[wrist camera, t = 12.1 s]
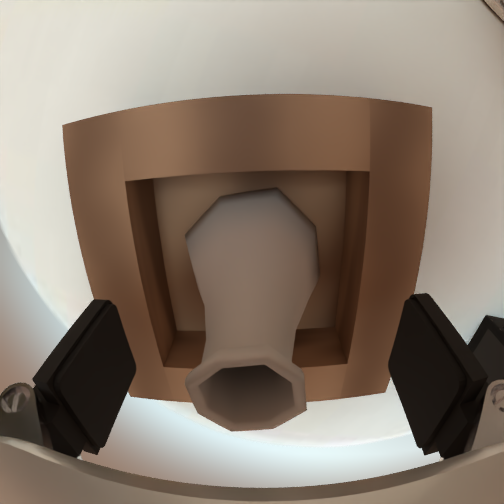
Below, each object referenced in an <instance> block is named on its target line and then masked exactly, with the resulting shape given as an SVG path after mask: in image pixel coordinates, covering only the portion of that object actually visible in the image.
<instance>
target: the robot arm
mask: <svg viewBox="0 0 504 504" xmlns="http://www.w3.org/2000/svg"><path fill="white" fill-rule="evenodd" d="M484 1H485V2H486V3H487V4H488V5H489V6H490V8H491V9H492V10H493V11H494V12H495V13H496V14H497V15H498V16H499V17H500V18H501V19H502V20H503V21H504V0H484ZM388 370H389V373H390V375H391V378H392V380H393V383H394V385H395V388H396V390H397V393H398V395H399V398H400V400H401V403H402V406H403V408H404V411H405V414H406V417H407V419H408V422H409V425H410V428H411V430H412V433H413V436H414V439H415V442H416V444H417V446H418V447H419V448H422V450H423V453H424V455H428V454H431V453H435V452H438V451H439V453H440V456H441V458H440V460H439V462H436V463H433V464H429V465H425V466H422V467H418V468H414V469H410V470H406V471H402V472H398V473H393V474H389V475H385V476H380V477H374V478H369V479H363V480H357V481H351V482H344V483H336V484H328V485H318V486H305V487H288V488H238V487H221V486H208V485H198V484H189V483H182V482H175V481H168V480H162V479H156V478H151V477H146V476H140V475H136V474H131V473H127V472H123V471H119V470H115V469H111V468H108V467H104V466H100V465H96V464H94V463H90V462H87V461H83V460H82V458H81V455H80V454H81V452H82V450H84V451H86V452H89V453H92V454H96V455H98V452H99V450H100V448H103V447H104V446H105V444H106V442H107V439H108V437H109V434H110V432H111V429H112V427H113V424H114V422H115V420H116V417H117V415H118V413H119V410H120V408H121V406H122V403H123V401H124V399H125V396H126V394H127V392H128V390H129V387H130V385H131V383H132V380H133V378H134V376H135V374H136V363H135V360H134V357H133V354H132V352H131V349H130V346H129V343H128V340H127V337H126V334H125V331H124V328H123V325H122V322H121V319H120V315H119V312H118V309H117V306H116V305H114V304H113V303H112V302H111V301H110V300H102V299H94V300H93V301H92V302H91V303H90V304H89V306H88V307H87V308H86V309H85V310H84V312H83V313H82V314H81V315H80V317H79V318H78V319H77V320H76V322H75V323H74V324H73V325H72V327H71V328H70V329H69V330H68V332H67V333H66V334H65V336H64V337H63V338H62V339H61V341H60V342H59V344H58V345H57V346H56V347H55V349H54V350H53V351H52V353H51V354H50V355H49V357H48V358H47V359H46V361H45V362H44V364H43V365H42V366H41V368H40V369H39V370H38V372H37V373H36V375H35V376H34V377H33V381H34V383H35V384H36V385H35V387H34V388H32V387H31V386H30V385H29V384H27V383H21V382H20V383H15V384H12V385H10V386H8V387H7V388H6V389H5V390H4V391H3V392H2V393H1V395H0V504H504V380H496V381H494V382H492V383H491V384H490V385H489V384H488V382H487V381H486V380H487V379H488V375H487V373H486V372H485V370H484V369H483V367H482V366H481V364H480V363H479V361H478V360H477V358H476V357H475V356H474V354H473V353H472V351H471V350H470V348H469V347H468V345H467V344H466V343H465V341H464V340H463V338H462V337H461V336H460V334H459V333H458V332H457V330H456V329H455V328H454V326H453V325H452V323H451V322H450V321H449V320H448V318H447V317H446V316H445V314H444V313H443V312H442V310H441V309H440V308H439V307H438V305H437V304H436V303H435V301H434V300H433V299H432V298H431V296H430V295H429V294H427V293H423V294H412V295H411V296H410V297H409V299H407V300H405V302H404V306H403V310H402V314H401V318H400V322H399V326H398V330H397V333H396V337H395V340H394V344H393V347H392V351H391V354H390V357H389V361H388Z"/></svg>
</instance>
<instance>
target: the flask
mask: <svg viewBox="0 0 504 504" xmlns="http://www.w3.org/2000/svg"><path fill="white" fill-rule="evenodd" d="M185 239H186V243H187V247H188V251H189V255H190V259H191V263H192V267H193V271H194V275H195V278H196V282H197V286H198V289H199V292H200V295H201V298H202V300H203V303H204V306H205V326H206V343H205V348H204V353H203V358H202V362H201V364H200V365H199V366H197V367H196V368H195V369H193V370H192V371H191V372H189V374H188V375H187V377H186V378H185V387H186V389H187V391H188V393H189V395H190V398H191V400H192V402H193V404H194V406H195V408H196V410H197V412H198V414H200V415H202V416H204V417H205V418H207V419H209V420H211V421H213V422H215V423H216V424H218V425H220V426H222V427H224V428H226V429H228V430H230V431H249V430H263V429H274V428H275V427H277V426H279V425H281V424H283V423H285V422H287V421H288V420H290V419H292V418H294V417H296V416H297V415H299V414H301V413H303V412H304V411H306V410H307V407H306V393H305V380H304V373H303V372H302V370H301V368H299V367H298V366H296V365H295V364H294V363H292V355H293V348H294V340H295V333H296V329H297V326H298V324H299V322H300V319H301V317H302V314H303V312H304V310H305V307H306V305H307V302H308V300H309V298H310V296H311V294H312V292H313V290H314V288H315V286H316V284H317V282H318V279H319V277H320V267H319V255H318V243H317V232H316V226H315V225H314V224H313V223H312V222H311V221H310V220H309V218H308V217H307V216H306V215H305V214H304V213H303V212H302V211H301V210H300V209H299V208H298V207H297V206H296V205H295V204H294V203H293V202H292V201H291V200H290V199H289V198H288V197H287V196H286V195H284V194H283V193H282V192H281V191H280V190H279V189H278V188H277V187H276V188H269V189H262V190H255V191H249V192H243V193H236V194H230V195H224V196H220V197H219V198H218V199H217V200H216V201H215V202H214V203H213V204H212V206H211V207H210V208H209V209H208V210H207V211H206V212H205V213H204V214H203V215H202V216H201V217H200V218H199V220H198V221H197V222H196V223H195V224H194V225H193V226H192V227H191V228H190V229H189V231H188V232H187V233H186V234H185Z"/></svg>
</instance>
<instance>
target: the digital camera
mask: <svg viewBox="0 0 504 504" xmlns="http://www.w3.org/2000/svg"><path fill="white" fill-rule="evenodd" d="M503 326H504V319H503V318H498V317H493V316H488V315H487V316H485V318H484V320H483V321H482V323H481V325H480V327H479V328H478V330H477V332H476V333H475V335H474V337H473V338H472V340H471V341H470V343H469V345H468V347H469V348H470V350H471V351H472V353H473V354H474V356H475V357H476V358H477V360H478V361H479V363H480V364H481V366H482V367H483V369H484V370H485V372H486V373H487V375H488V379H487V380H486V381H487V382H488V384H489V385H490V384H491V383H492V382H494V381H496V380H504V327H503Z"/></svg>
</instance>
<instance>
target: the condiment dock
mask: <svg viewBox="0 0 504 504" xmlns="http://www.w3.org/2000/svg"><path fill="white" fill-rule="evenodd" d="M62 127H63V141H64V152H65V161H66V170H67V177H68V184H69V191H70V198H71V204H72V209H73V215H74V220H75V225H76V230H77V235H78V239H79V244H80V248H81V253H82V257H83V261H84V265H85V269H86V273H87V276H88V280H89V284H90V287H91V291H92V294H93V297H94V299H102V300H110V301H111V302H112V303H113V304H114V305H116V306H117V309H118V312H119V315H120V319H121V322H122V325H123V328H124V331H125V334H126V337H127V340H128V343H129V346H130V349H131V352H132V354H133V357H134V360H135V363H136V374H135V376H134V378H133V380H132V383H131V385H130V387H129V390H128V392H129V394H130V396H131V397H139V398H147V399H156V400H166V401H177V402H192V400H191V398H190V395H189V393H188V391H187V389H186V387H185V378H186V377H187V375H188V374H189V372H191V371H192V370H193V369H195V368H196V367H197V366H199V365H200V364H201V362H202V358H203V353H204V348H205V343H206V326H205V306H204V303H203V300H202V298H201V295H200V292H199V289H198V286H197V282H196V278H195V275H194V271H193V267H192V263H191V259H190V255H189V251H188V247H187V243H186V239H185V234H186V233H187V232H188V231H189V229H190V228H191V227H192V226H193V225H194V224H195V223H196V222H197V221H198V220H199V218H200V217H201V216H202V215H203V214H204V213H205V212H206V211H207V210H208V209H209V208H210V207H211V206H212V204H213V203H214V202H215V201H216V200H217V199H218V198H219V197H220V196H224V195H230V194H236V193H243V192H249V191H255V190H262V189H269V188H276V187H277V188H278V189H279V190H280V191H281V192H282V193H283V194H284V195H286V196H287V197H288V198H289V199H290V200H291V201H292V202H293V203H294V204H295V205H296V206H297V207H298V208H299V209H300V210H301V211H302V212H303V213H304V214H305V215H306V216H307V217H308V218H309V220H310V221H311V222H312V223H313V224H314V225H315V226H316V232H317V243H318V255H319V267H320V277H319V279H318V282H317V284H316V286H315V288H314V290H313V292H312V294H311V296H310V298H309V300H308V302H307V305H306V307H305V310H304V312H303V314H302V317H301V319H300V322H299V324H298V326H297V329H296V333H295V340H294V348H293V355H292V363H294V364H295V365H296V366H298V367H299V368H301V370H302V372H303V373H304V380H305V393H306V402H311V401H323V400H333V399H342V398H351V397H358V396H365V395H372V394H378V393H384V392H386V389H387V386H388V383H389V380H390V377H391V375H390V373H389V370H388V361H389V357H390V354H391V351H392V347H393V344H394V340H395V337H396V333H397V330H398V326H399V322H400V318H401V314H402V310H403V306H404V302H405V300H407V299H409V297H410V296H411V295H412V294H414V291H415V286H416V281H417V276H418V271H419V266H420V260H421V254H422V248H423V242H424V235H425V228H426V220H427V212H428V202H429V191H430V178H431V160H432V107H427V106H421V105H415V104H409V103H403V102H396V101H388V100H380V99H371V98H361V97H349V96H334V95H311V94H262V95H239V96H223V97H211V98H201V99H192V100H183V101H176V102H168V103H162V104H155V105H149V106H143V107H138V108H132V109H127V110H122V111H117V112H113V113H108V114H104V115H99V116H95V117H91V118H87V119H83V120H79V121H76V122H72V123H68V124H65V125H62ZM192 403H193V402H192Z"/></svg>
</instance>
